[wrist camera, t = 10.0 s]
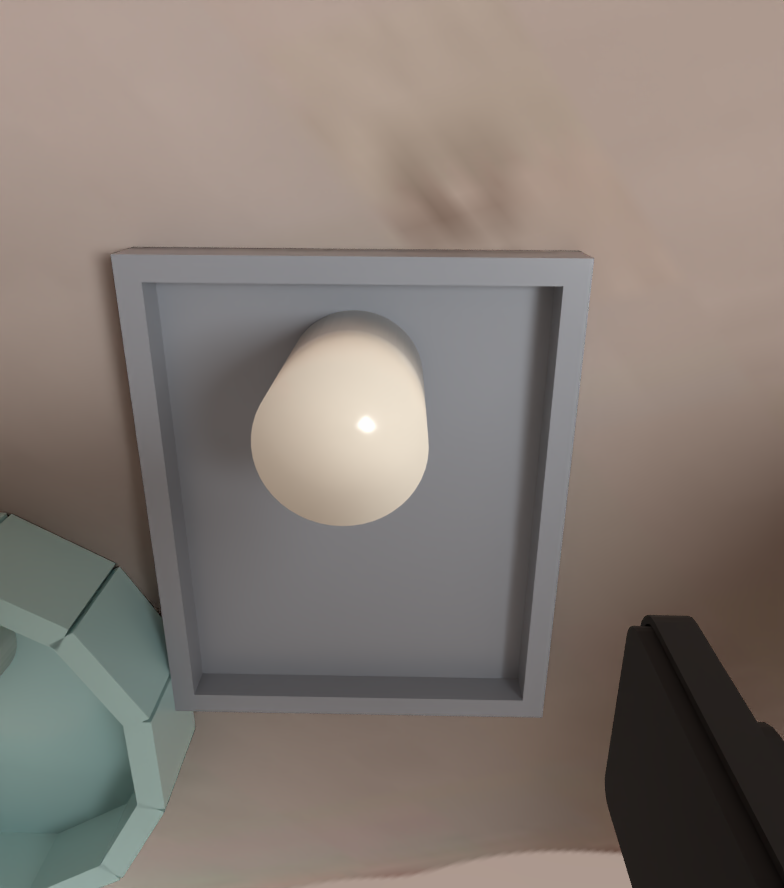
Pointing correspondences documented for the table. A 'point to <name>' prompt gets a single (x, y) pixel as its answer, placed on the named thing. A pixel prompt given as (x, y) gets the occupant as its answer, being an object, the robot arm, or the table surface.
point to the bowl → (80, 715)
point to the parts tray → (374, 543)
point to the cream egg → (7, 647)
